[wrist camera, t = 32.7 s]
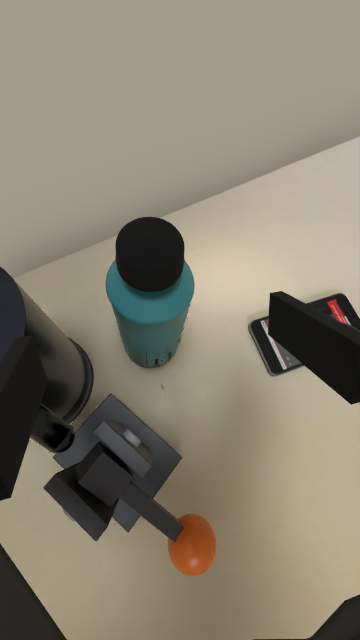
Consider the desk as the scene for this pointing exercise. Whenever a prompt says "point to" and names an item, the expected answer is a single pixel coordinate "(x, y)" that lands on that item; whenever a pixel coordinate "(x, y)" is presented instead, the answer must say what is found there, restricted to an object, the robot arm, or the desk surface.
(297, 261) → the desk surface
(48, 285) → the desk surface
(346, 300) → the smartphone
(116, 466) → the lever switch
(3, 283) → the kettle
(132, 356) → the beverage bottle
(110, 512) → the switch bracket
